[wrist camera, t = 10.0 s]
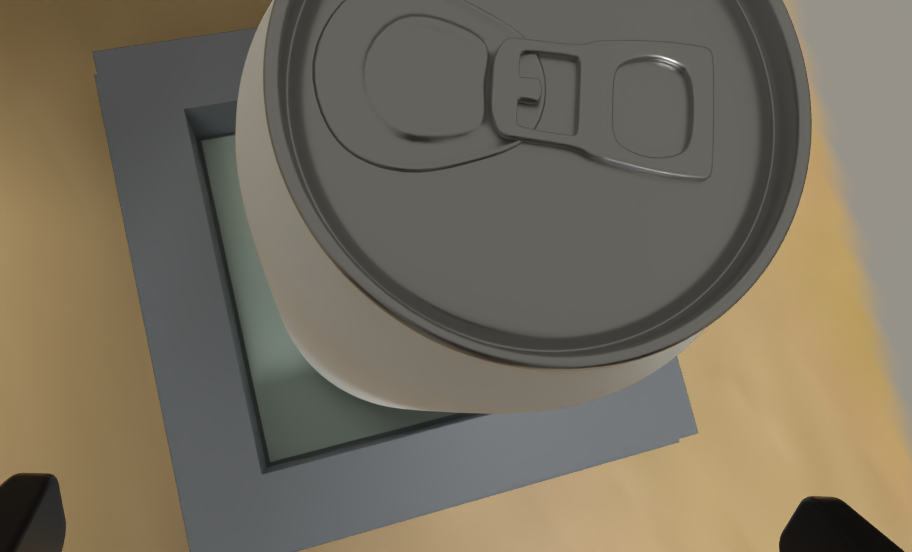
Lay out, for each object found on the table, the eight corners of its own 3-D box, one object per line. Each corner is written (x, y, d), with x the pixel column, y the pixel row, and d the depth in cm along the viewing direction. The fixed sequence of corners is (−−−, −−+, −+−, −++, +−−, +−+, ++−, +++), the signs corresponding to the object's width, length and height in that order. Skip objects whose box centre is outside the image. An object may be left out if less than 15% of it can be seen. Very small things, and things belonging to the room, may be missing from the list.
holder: (665, 440, 21) (718, 445, 18) (200, 572, 18) (181, 602, 16) (550, 18, 22) (584, -36, 20) (103, 87, 20) (69, 37, 17)
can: (287, 133, 19) (253, -269, 8) (541, 164, 21) (845, -151, 9) (259, 400, 18) (172, 394, 7) (530, 417, 19) (858, 438, 8)
